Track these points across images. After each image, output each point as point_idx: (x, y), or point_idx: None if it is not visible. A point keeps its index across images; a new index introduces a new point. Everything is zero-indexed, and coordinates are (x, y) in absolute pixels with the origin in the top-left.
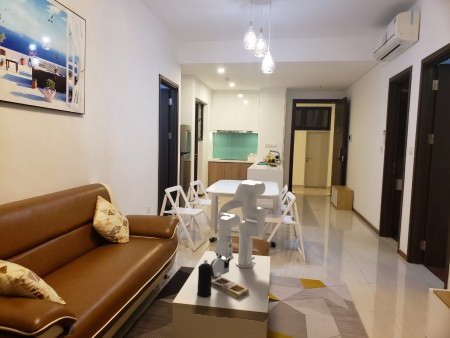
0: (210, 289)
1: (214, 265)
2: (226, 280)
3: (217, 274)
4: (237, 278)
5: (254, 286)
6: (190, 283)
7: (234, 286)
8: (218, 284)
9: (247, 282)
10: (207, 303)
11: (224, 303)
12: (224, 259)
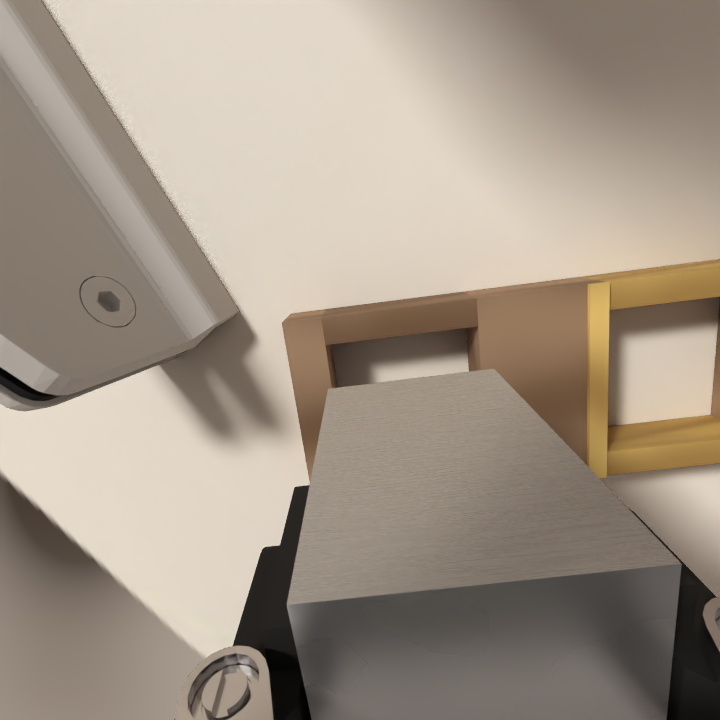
0: None
1: (49, 351)
2: (417, 333)
3: (183, 302)
4: (380, 65)
5: (716, 29)
6: (176, 614)
7: (600, 350)
8: None
9: (566, 25)
10: None
11: None
12: (533, 715)
